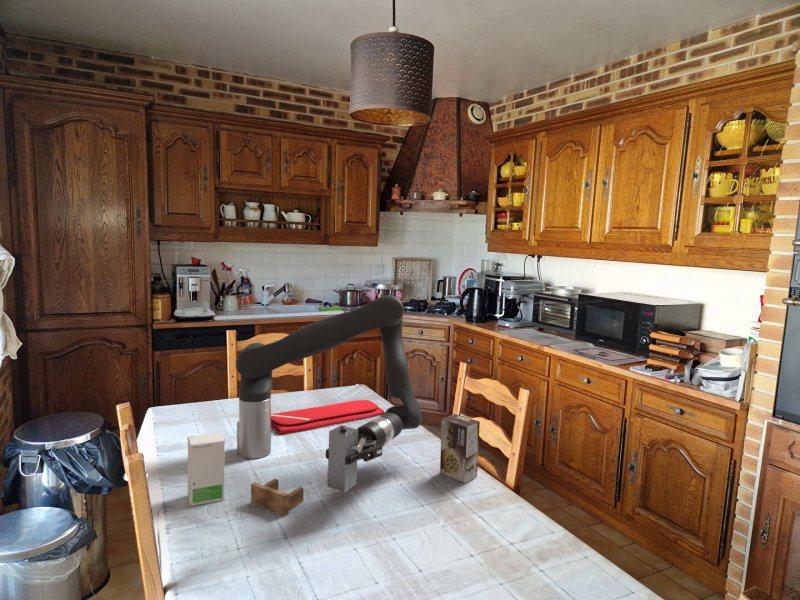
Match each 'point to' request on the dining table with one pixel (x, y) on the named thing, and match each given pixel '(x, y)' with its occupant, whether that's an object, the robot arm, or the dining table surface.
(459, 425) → the coffee box
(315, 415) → the dish drying mat
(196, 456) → the skincare box
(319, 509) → the dining table surface
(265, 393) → the robot arm
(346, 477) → the brushed steel pillar
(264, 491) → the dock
